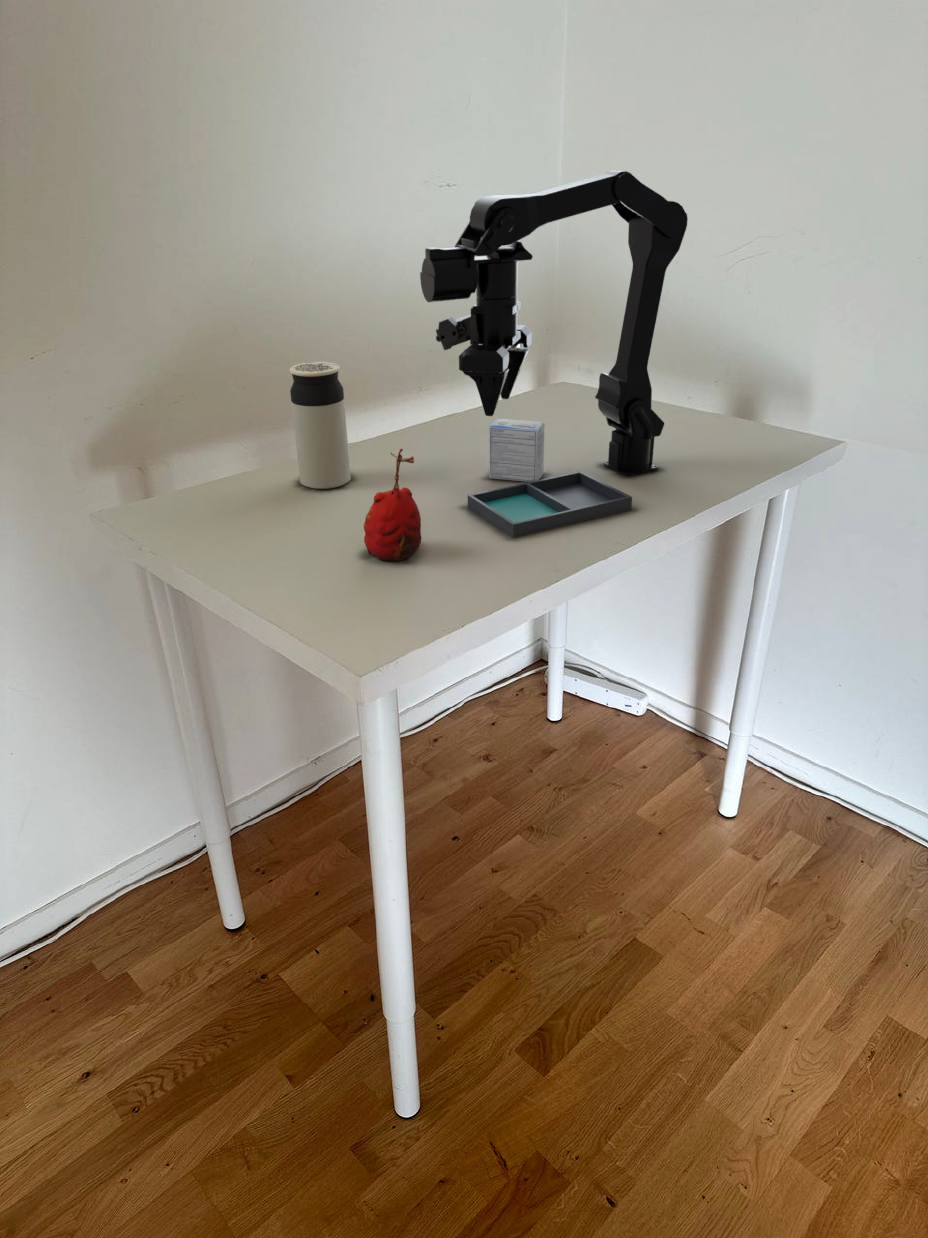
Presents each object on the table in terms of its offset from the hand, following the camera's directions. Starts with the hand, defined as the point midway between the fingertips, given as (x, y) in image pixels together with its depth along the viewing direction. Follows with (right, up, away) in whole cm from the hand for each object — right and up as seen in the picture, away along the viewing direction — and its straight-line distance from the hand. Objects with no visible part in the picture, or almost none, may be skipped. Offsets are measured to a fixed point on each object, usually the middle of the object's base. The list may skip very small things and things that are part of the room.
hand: (497, 406), depth 134 cm
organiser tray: (+7, -15, -1) cm, 17 cm away
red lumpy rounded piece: (-14, -23, -14) cm, 30 cm away
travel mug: (-27, -10, +11) cm, 31 cm away
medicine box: (+3, -9, +11) cm, 14 cm away
